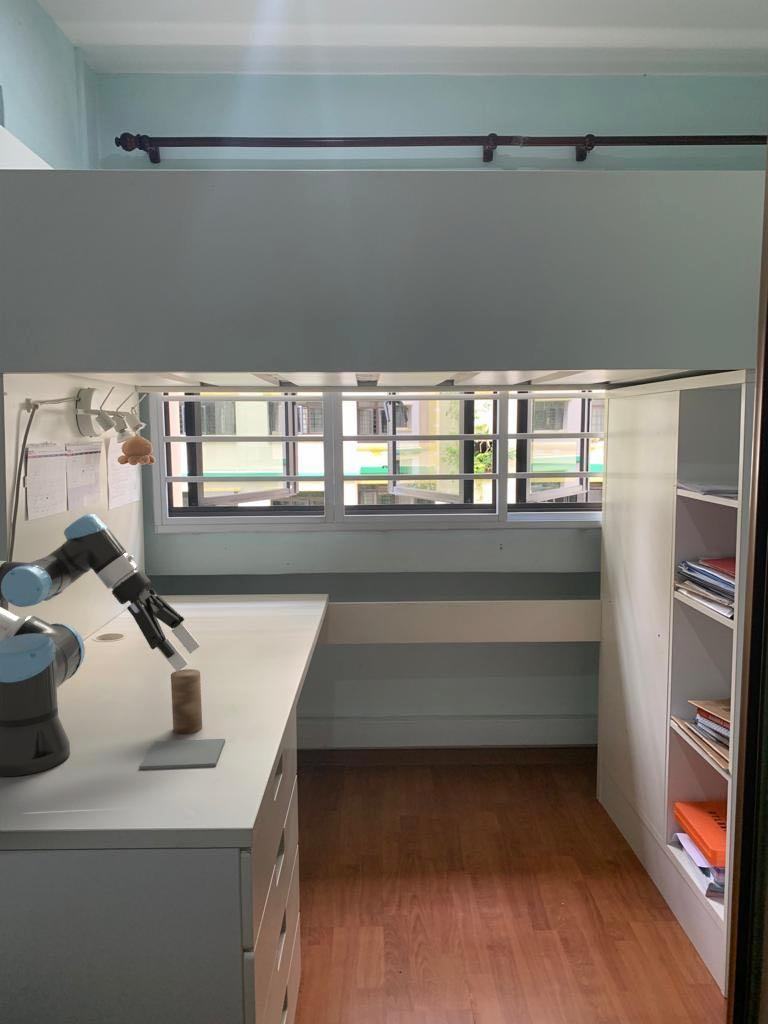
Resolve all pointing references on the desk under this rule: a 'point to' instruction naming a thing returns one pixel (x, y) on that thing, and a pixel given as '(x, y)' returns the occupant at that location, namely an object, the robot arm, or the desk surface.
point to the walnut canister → (186, 701)
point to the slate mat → (183, 754)
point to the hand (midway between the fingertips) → (189, 658)
